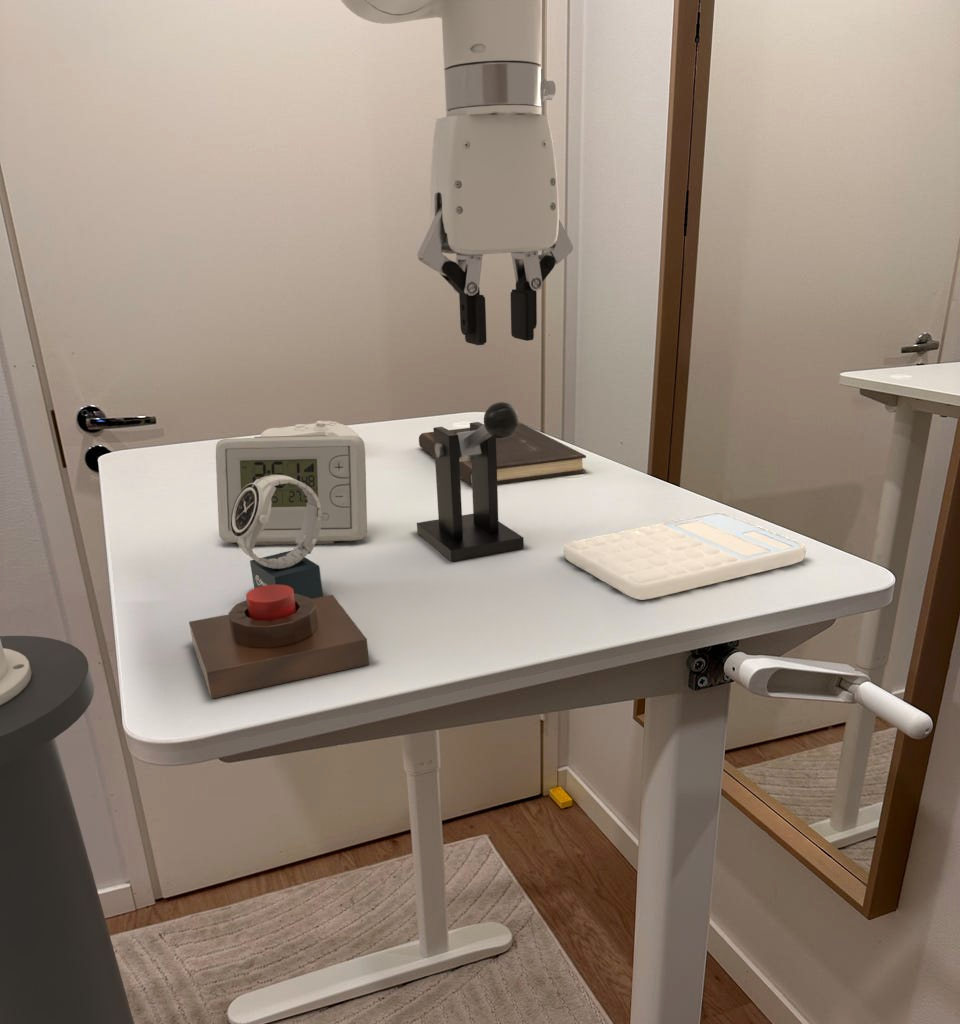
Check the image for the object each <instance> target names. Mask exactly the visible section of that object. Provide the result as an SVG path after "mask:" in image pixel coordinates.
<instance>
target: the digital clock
mask: <svg viewBox="0 0 960 1024" xmlns="http://www.w3.org/2000/svg"><path fill="white" fill-rule="evenodd" d="M366 465H367V464H366V447H365V442H364V439H363V438H362V437H361V436H359V437H358V436H326V435H310V436H267V437H261V436H254V437H236V438H234V437H231V438H229V437H228V438H222V439H219V440H218V441H217V443H216V445H215V470H216V471H215V472H216V494H217V495H216V496H217V497H216V498H217V518H218V519H217V520H218V521H217V523H218V534H219V537H220V539H221V541H223V542H225V543H237V540H236V539H235V536H234V535H233V533H232V531H231V514H232V509H233V506H234V503H235V501H236V499H237V497H238V495H239V493H240V492H241V490H242V489H243V488H244V487H245V486H246V485H248V484H250V483H254V482H255V481H256V480H257V479H260V478H262V477H265V476H270V475H285V476H288V477H291V478H293V479H296V480H298V481H300V482H302V483H304V484H306V485H307V486H309V487H310V488H311V489H312V490H313V491H314V492H315V494H316V495H317V497H318V499H319V501H320V505H321V513H322V514H323V519H322V524H321V529H320V533H319V536H318V538H317V541H316V543H315V545H334V544H335V543H336V542H342V541H343V542H347V541H349V542H350V541H351V542H355V541H360V540H363V539H364V538H366V536H367V532H368V513H367V512H368V510H367V509H368V508H367V507H368V506H367V505H368V504H367V473H366V472H367V471H366V469H367V468H366ZM274 487H276V490H275V492H274V494H273V496H272V498H271V512H270V516H269V522H268V523H267V524H266V526H265V528H264V530H263V531H262V532H261V534H260V535H259V536H258V537H257V538H256V542H255V546H267V545H268V546H270V545H271V546H275V545H279V546H281V545H297V544H296V543H295V542H296V540H297V538H298V535H299V533H300V531H301V528H302V525H303V521H304V515H305V512H306V511H307V503H308V500H307V496H306V495H305V493H304V492H303V489H301V488H300V487H299V486H297V485H296V484H291V483H286V484H280V483H279V485H276V486H274Z"/></svg>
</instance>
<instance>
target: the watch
mask: <svg viewBox="0 0 960 1024" xmlns="http://www.w3.org/2000/svg"><path fill="white" fill-rule="evenodd" d="M279 483H280V484H286V483H291V484H296V485H297V486H299V487H300V488H301V489H303V492H304V493H305V495H306V496H307V500H308V503H307V511H306V512H305V515H304V521H303V525H302V528H301V531H300V533H299V535H298V538H297V540H296V542H295V543H296V544H295V545H296V546H295V547H294V548H293V549H292V550H288V551H287V550H286V551H284V552H280V553H275V554H271V555H266V556H264V557H259V556H257V555H256V554H255V553H254V551H253V550H254V549H255V547H256V545H255V542H256V538H257V537H258V536H259V535H260V534H261V532H262V531H263V530H264V528H265V526H266V524H267V523H268V522H269V516H270V512H271V498H272V496H273V494H274V492H275V490H276V487H274V486H276V485H279ZM322 519H323V514H322V513H321V505H320V501H319V499H318V497H317V495H316V494H315V492H314V491H313V490H312V489H311V488H310V487H309V486H307V485H306V484H304V483H302V482H300V481H298V480H296V479H293V478H291V477H288V476H285V475H270V476H265V477H262V478H260V479H257V480H256V481H255V482H254V483H250V484H248V485H246V486H245V487H244V488H243V489H242V490H241V492H240V493H239V495H238V497H237V499H236V501H235V503H234V506H233V509H232V514H231V531H232V533H233V535H234V536H235V539H236V540H237V542H236V543H237V545H238V547H239V548H240V549H241V551H242V552H243V553H244V554H246V556H248V557H249V558H251V560H249V563H250V571H251V576H252V577H251V578H252V583H253V589H255V588H257V587H261V586H265V585H274V584H279V585H286V586H289V587H291V588H292V589H293V591H294V594H299V595H302V596H306V597H309V598H311V599H313V598H318V597H324V593H323V585H322V577H321V569H320V567H321V566H320V565H318V564H317V563H315V562H314V561H312V560H310V559H309V558H307V557H306V556H307V555H310V554H311V553H312V551H313V549H314V548H315V546H316V544H315V543H316V541H317V538H318V536H319V533H320V529H321V524H322Z"/></svg>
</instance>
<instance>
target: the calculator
mask: <svg viewBox="0 0 960 1024" xmlns="http://www.w3.org/2000/svg"><path fill="white" fill-rule="evenodd" d="M562 551H563V552H562V553H563V557H564V558H565V559H566V561H568V562H569V563H571V564H573V565H574V566H576V567H578V568H580V569H581V570H583V571H585V572H586V573H588V574H589V575H592V576H593V577H595V578H596V579H599V580H600V581H601V582H604V583H606V584H607V585H608V586H610V587H613V588H614V589H615V590H617V591H619V592H620V593H623V594H624V595H626V596H628V597H630V598H632V599H635V600H637V601H639V600H640V601H645V600H651V599H655V598H660V597H665V596H668V595H672V594H677V593H680V592H684V591H689V590H692V589H693V590H694V589H696V588H701V587H704V586H709V585H713V584H718V583H721V582H725V581H729V580H733V579H738V578H742V577H747V576H750V575H754V574H759V573H762V572H766V571H770V570H774V569H775V570H776V569H779V568H782V567H783V568H784V567H787V566H791V565H795V564H798V563H801V562H802V561H803V560H804V559H805V558H806V555H807V547H806V545H805V544H804V543H802V542H801V541H798V540H796V539H793V538H791V537H788V536H785V535H783V534H781V533H778V532H776V531H773V530H770V529H767V528H765V527H763V526H760V525H758V524H755V523H752V522H750V521H748V520H744V519H742V518H739V517H737V516H735V515H732V514H729V513H726V512H721V511H719V512H710V513H705V514H704V513H703V514H699V515H694V516H689V517H685V518H680V519H675V520H670V521H664V522H660V523H656V524H651V525H645V526H641V527H636V528H632V529H626V530H622V531H617V532H612V533H607V534H602V535H597V536H592V537H587V538H583V539H582V538H581V539H577V540H572V541H568V542H567V543H565V544H564V545H563V550H562Z"/></svg>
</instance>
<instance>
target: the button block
mask: <svg viewBox="0 0 960 1024" xmlns="http://www.w3.org/2000/svg"><path fill="white" fill-rule="evenodd" d="M294 598H295V606H296V613H294V614H292V615H290V616H288V617H285V618H281V619H276V620H255V619H252V618H250V617H249V612H248V605H247V599H245V600H243V601H241V602H239V603H236V604H235V605H234V606H233V607H232V608H231V609H230V610H229V611H228V614H223V615H218V616H217V615H216V616H213V617H207V618H202V619H197V620H192V621H188V625H189V629H190V635H191V640H192V647H193V648H194V651H195V652H194V653H195V654H196V658H197V660H198V663H199V666H200V670H201V672H202V675H203V678H204V681H205V684H206V687H207V690H208V692H209V693H208V694H209V695H210V699H212V700H213V699H217V698H221V697H226V696H227V697H228V696H231V695H235V694H240V693H245V692H249V691H254V690H259V689H263V688H268V687H273V686H277V685H282V684H287V683H291V682H295V681H300V680H304V679H310V678H313V677H318V676H323V675H327V674H332V673H337V672H341V671H345V670H350V669H354V668H359V667H365V666H369V665H370V658H369V657H370V655H369V647H368V646H369V645H368V639H367V637H366V636H365V635H364V634H363V632H362V631H361V630H360V628H359V627H358V626H357V624H356V623H355V622H354V620H353V619H352V618H351V616H349V614H348V613H347V611H346V610H345V608H343V606H342V605H341V603H340V602H339V601H338V600H337V598H336V597H335V596H334V594H329V595H323V597H318V598H313V599H311V598H309V597H306V596H302V595H299V594H294Z"/></svg>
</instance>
